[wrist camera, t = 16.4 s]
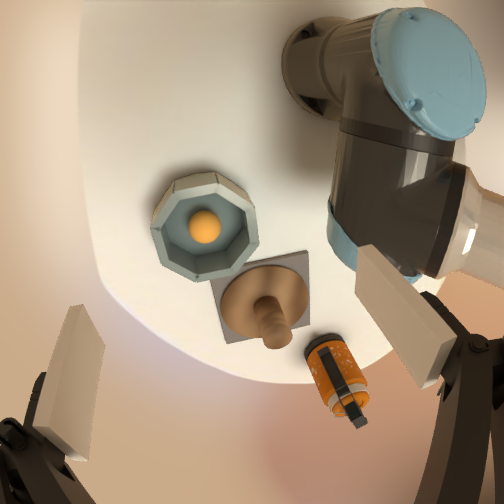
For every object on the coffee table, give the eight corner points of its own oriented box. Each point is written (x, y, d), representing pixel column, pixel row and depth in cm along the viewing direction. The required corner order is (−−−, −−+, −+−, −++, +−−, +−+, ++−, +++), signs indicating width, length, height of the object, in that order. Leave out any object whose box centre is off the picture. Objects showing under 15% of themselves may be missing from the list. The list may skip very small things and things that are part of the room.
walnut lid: (305, 255, 51) (326, 288, 43) (307, 323, 58) (324, 357, 51) (212, 275, 49) (218, 313, 41) (229, 341, 57) (236, 379, 49)
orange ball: (216, 202, 43) (219, 215, 39) (221, 231, 45) (225, 245, 42) (185, 209, 43) (185, 222, 39) (191, 237, 45) (192, 252, 41)
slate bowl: (242, 164, 42) (250, 176, 37) (254, 248, 49) (262, 268, 44) (147, 184, 41) (141, 199, 36) (169, 265, 48) (168, 288, 42)
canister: (312, 367, 67) (343, 441, 50) (293, 341, 61) (327, 424, 44) (347, 348, 66) (386, 418, 49) (333, 319, 60) (377, 398, 43)
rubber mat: (306, 250, 51) (308, 252, 50) (308, 321, 59) (309, 324, 58) (208, 270, 49) (208, 273, 49) (226, 341, 58) (226, 344, 57)
